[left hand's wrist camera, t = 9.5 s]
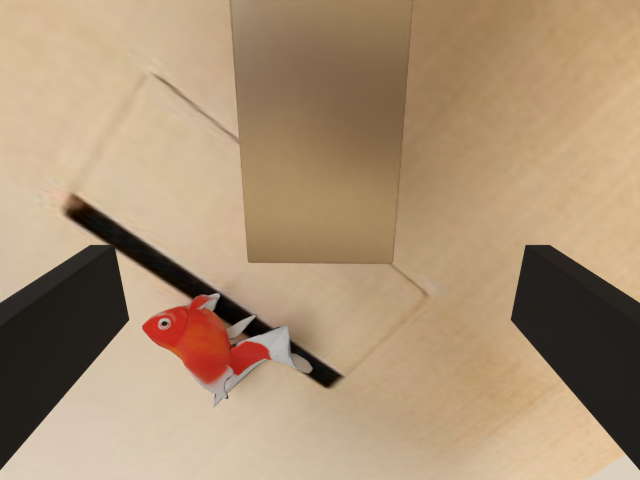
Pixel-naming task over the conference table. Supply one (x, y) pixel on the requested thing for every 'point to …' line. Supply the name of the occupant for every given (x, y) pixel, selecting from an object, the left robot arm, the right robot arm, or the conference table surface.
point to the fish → (218, 345)
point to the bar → (320, 126)
